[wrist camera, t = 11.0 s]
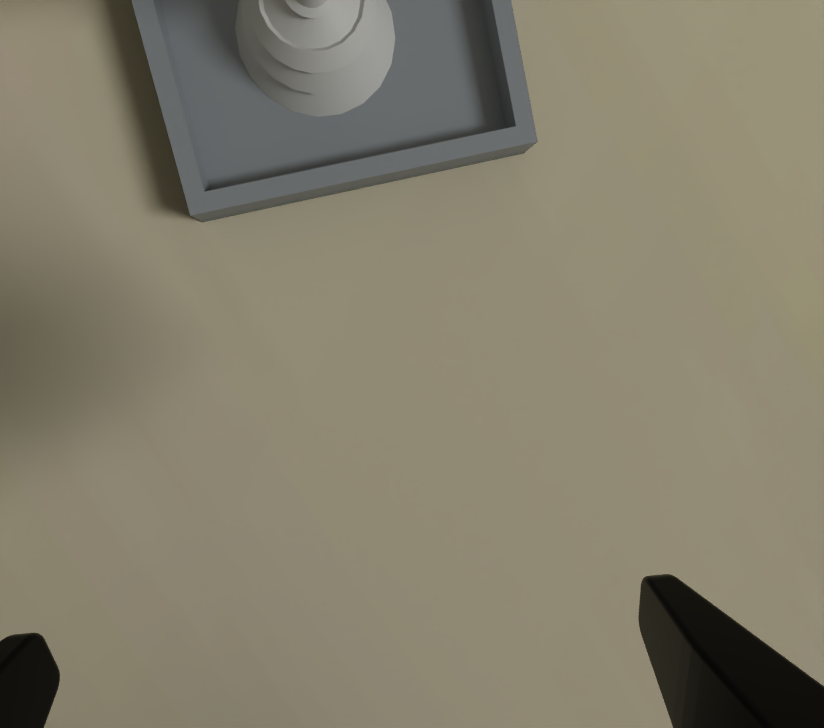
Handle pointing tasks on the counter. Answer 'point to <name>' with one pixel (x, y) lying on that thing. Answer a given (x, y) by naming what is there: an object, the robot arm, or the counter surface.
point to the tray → (344, 133)
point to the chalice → (316, 51)
